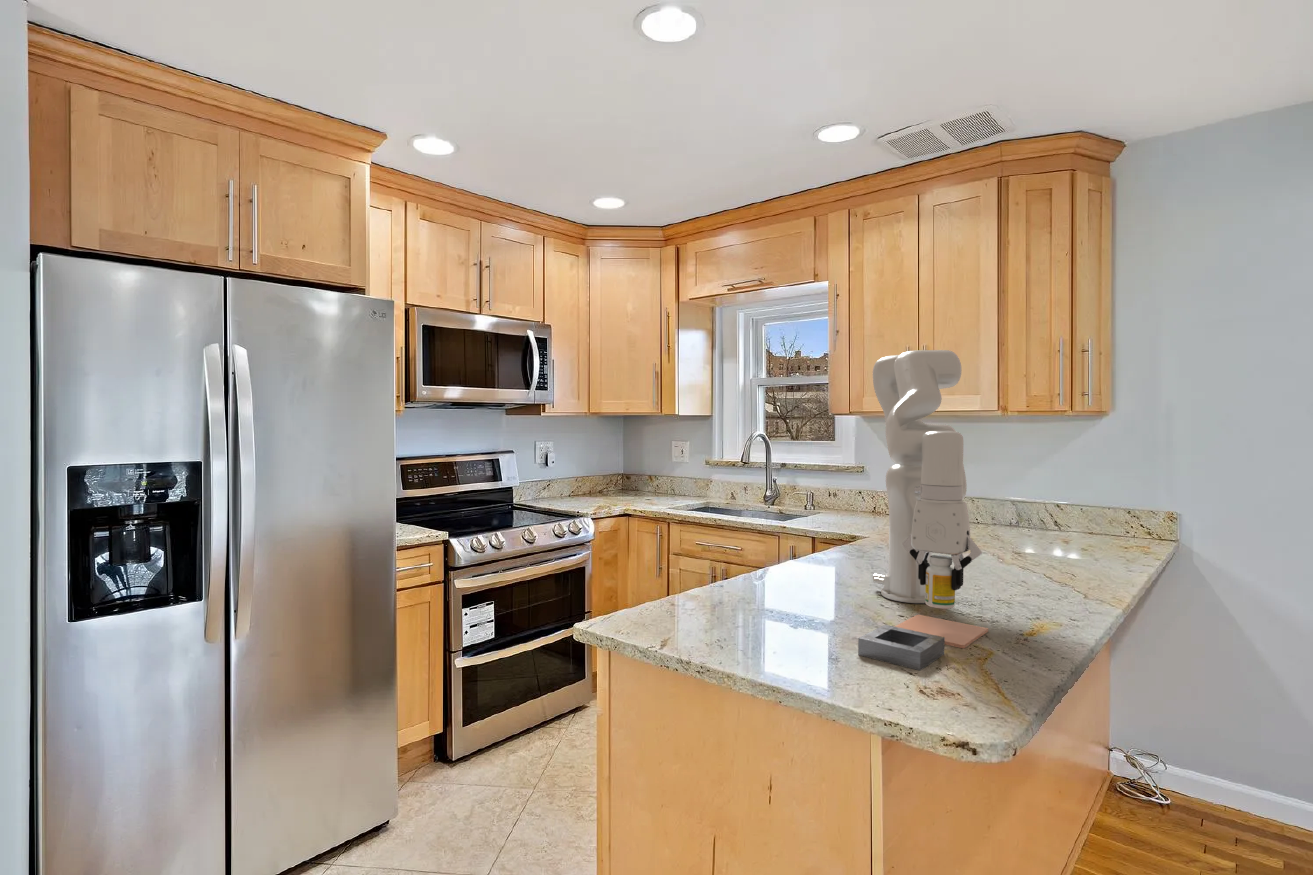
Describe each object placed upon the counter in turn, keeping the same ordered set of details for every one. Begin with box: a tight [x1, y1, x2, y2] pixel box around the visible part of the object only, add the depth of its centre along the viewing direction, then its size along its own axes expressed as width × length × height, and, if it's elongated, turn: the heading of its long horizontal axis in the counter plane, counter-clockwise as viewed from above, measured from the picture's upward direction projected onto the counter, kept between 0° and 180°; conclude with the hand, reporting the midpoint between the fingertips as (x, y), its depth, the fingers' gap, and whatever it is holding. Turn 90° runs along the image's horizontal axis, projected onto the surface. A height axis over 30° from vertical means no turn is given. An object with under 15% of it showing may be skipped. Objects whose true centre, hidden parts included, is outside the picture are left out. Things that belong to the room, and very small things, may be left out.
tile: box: [894, 614, 989, 649], centre depth 135 cm, size 14×14×1 cm
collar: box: [857, 624, 946, 671], centre depth 122 cm, size 11×11×3 cm
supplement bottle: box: [924, 554, 956, 610], centre depth 135 cm, size 5×5×10 cm
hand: (940, 585), depth 135 cm, fingers closed on supplement bottle, 5 cm apart
